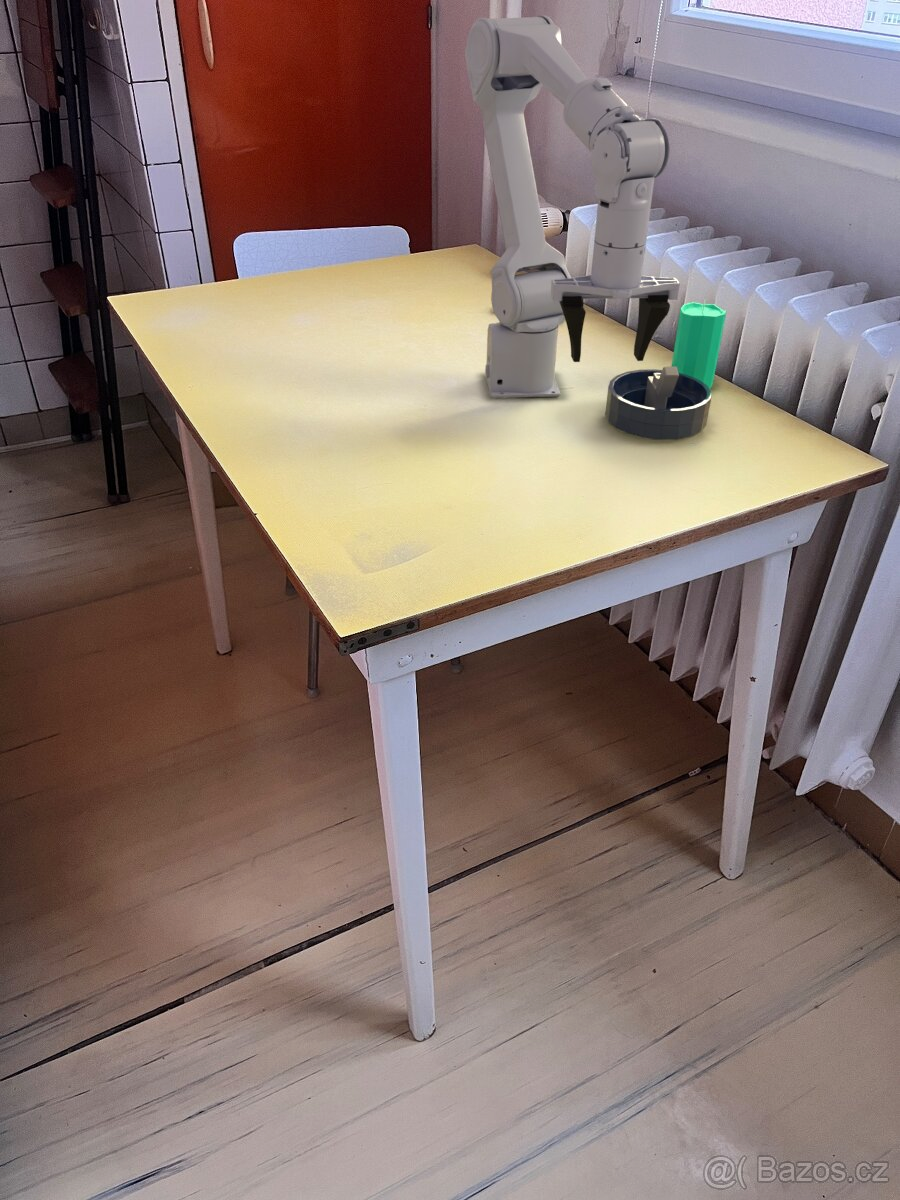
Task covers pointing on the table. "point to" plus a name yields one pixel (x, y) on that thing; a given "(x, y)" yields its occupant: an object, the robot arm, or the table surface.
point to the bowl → (672, 423)
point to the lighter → (660, 387)
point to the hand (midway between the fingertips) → (606, 358)
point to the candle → (698, 340)
